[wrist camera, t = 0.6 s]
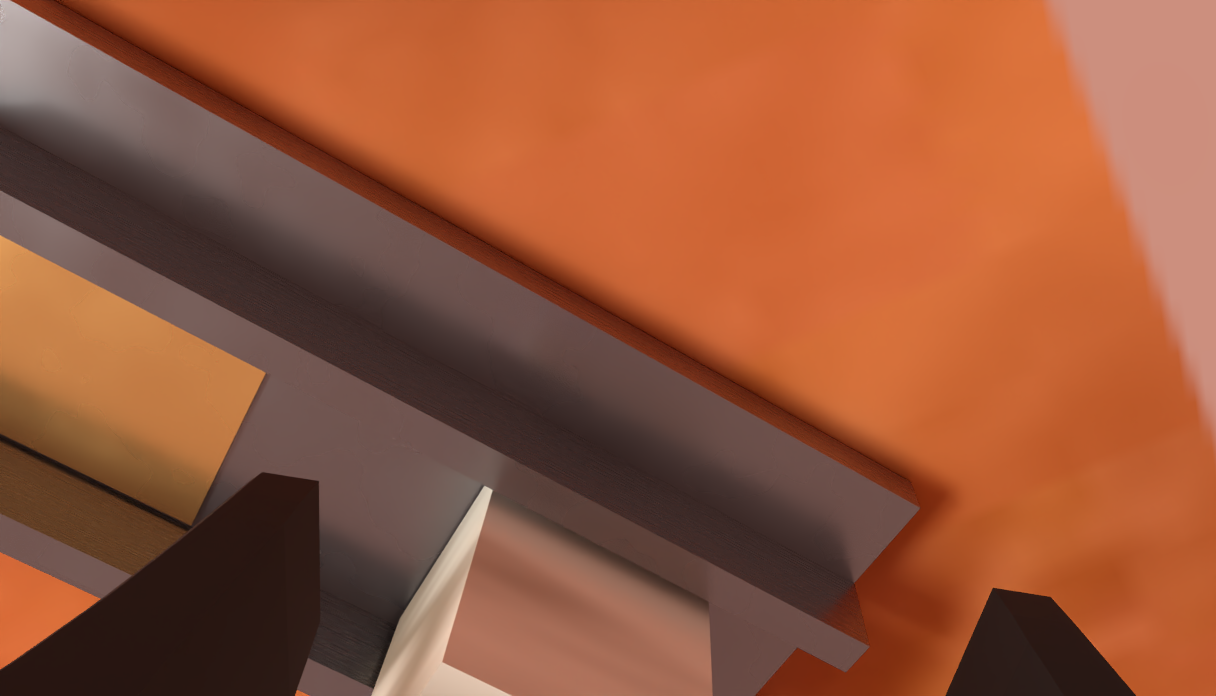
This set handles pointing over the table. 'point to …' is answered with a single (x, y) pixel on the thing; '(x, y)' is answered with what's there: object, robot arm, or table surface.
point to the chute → (362, 378)
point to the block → (544, 618)
